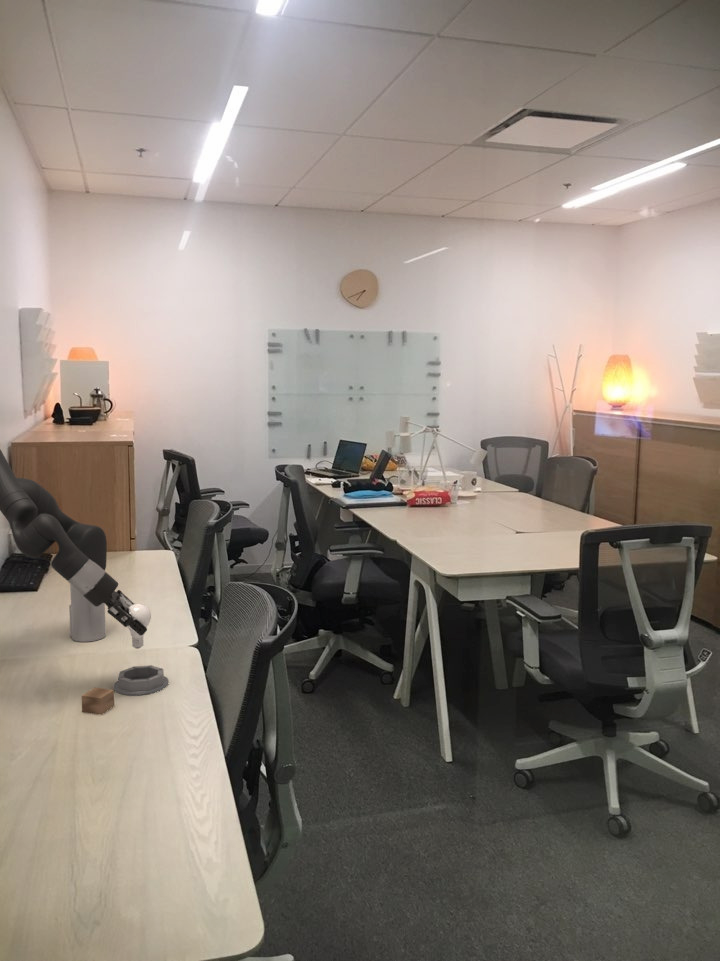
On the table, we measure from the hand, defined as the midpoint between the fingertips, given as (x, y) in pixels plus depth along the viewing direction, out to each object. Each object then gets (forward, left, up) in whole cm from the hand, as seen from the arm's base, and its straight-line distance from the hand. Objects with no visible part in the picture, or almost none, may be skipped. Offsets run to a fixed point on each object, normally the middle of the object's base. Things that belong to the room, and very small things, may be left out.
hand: (144, 628), depth 187 cm
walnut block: (+2, -16, -15) cm, 22 cm away
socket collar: (-1, -1, -14) cm, 14 cm away
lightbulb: (-1, -1, -5) cm, 5 cm away
